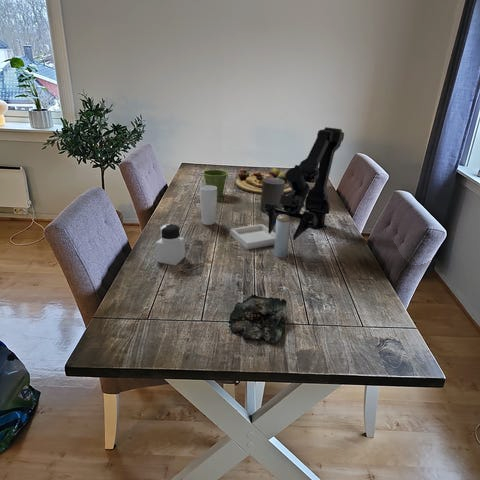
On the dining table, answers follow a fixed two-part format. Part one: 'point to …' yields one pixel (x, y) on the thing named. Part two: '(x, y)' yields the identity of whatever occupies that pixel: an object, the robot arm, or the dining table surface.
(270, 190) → the pillar candle
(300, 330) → the dining table surface
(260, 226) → the white square dish
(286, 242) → the spice jar
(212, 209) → the drinking glass
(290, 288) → the dining table surface
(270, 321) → the decorative rock
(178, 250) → the medicine bottle
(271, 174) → the wooden plate with food
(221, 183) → the plant pot
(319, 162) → the robot arm
